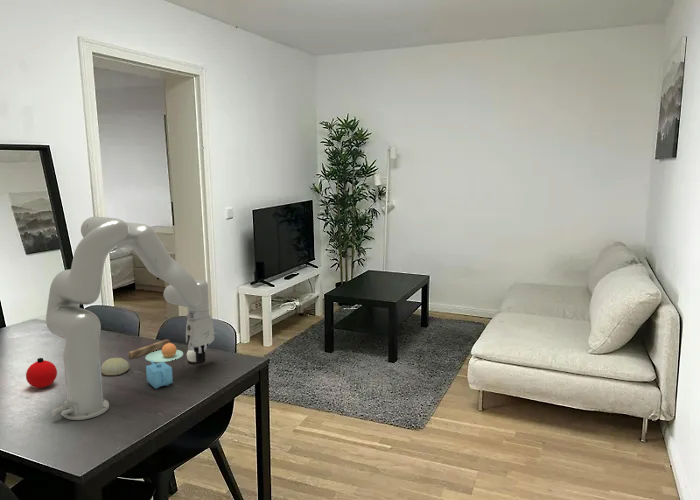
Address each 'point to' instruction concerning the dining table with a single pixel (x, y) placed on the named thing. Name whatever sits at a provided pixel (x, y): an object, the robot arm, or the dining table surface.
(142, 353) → the walnut rail
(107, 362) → the sea urchin shell
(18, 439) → the dining table surface
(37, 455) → the dining table surface
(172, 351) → the orange ball
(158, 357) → the mint mark
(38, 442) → the dining table surface
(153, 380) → the blue fidget cube
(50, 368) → the ornament
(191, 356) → the cue ball
